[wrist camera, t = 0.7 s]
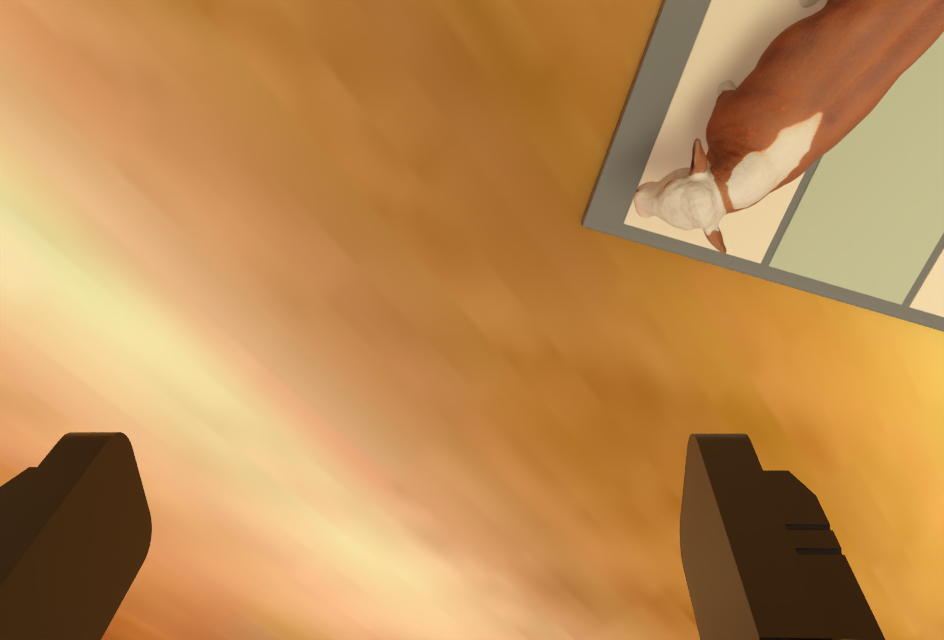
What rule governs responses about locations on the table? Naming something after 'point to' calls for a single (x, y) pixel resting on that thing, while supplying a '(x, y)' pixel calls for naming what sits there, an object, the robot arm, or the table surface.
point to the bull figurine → (793, 107)
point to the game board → (811, 194)
